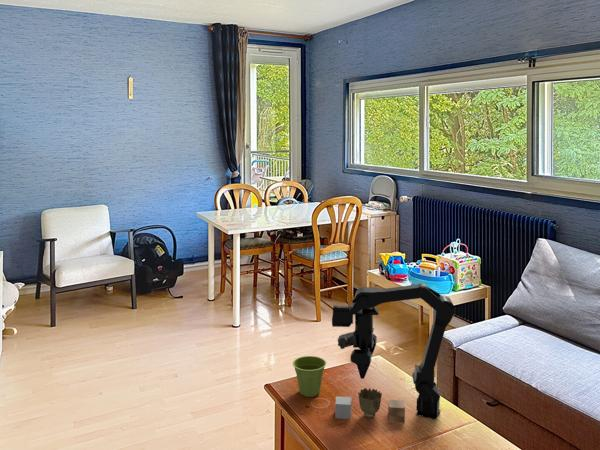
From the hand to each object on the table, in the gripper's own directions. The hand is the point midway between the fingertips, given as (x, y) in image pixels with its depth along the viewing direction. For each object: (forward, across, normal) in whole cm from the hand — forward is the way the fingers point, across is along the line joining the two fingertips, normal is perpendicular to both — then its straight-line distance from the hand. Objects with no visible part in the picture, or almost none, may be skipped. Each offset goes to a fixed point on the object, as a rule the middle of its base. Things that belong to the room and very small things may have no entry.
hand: (364, 372), depth 173 cm
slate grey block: (+13, +5, -6) cm, 15 cm away
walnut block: (+13, +3, +11) cm, 17 cm away
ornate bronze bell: (+13, +4, +2) cm, 14 cm away
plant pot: (+13, -7, -20) cm, 25 cm away
